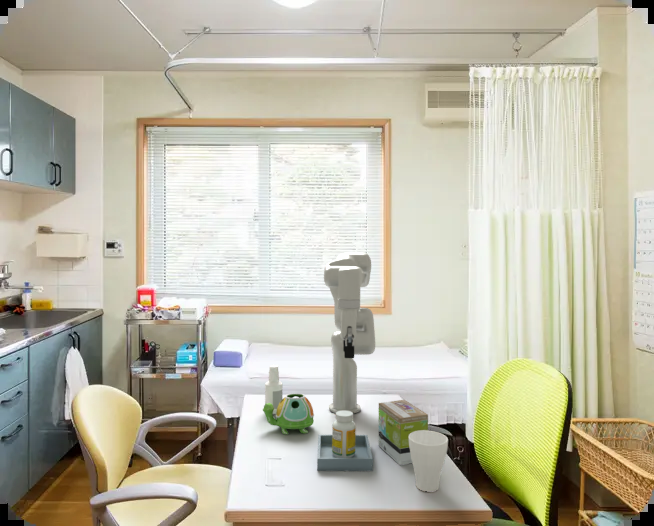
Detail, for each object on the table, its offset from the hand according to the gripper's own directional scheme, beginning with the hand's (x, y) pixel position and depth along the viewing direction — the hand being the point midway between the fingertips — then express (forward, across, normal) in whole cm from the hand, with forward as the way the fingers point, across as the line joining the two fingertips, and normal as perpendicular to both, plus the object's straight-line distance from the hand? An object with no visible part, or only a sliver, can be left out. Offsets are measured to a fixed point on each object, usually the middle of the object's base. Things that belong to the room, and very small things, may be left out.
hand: (348, 354), depth 164 cm
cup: (+28, +34, +20) cm, 49 cm away
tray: (+28, +16, -2) cm, 32 cm away
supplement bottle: (+28, +16, -2) cm, 32 cm away
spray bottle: (+28, -25, -28) cm, 47 cm away
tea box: (+28, +13, +16) cm, 35 cm away
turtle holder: (+29, -7, -20) cm, 36 cm away
